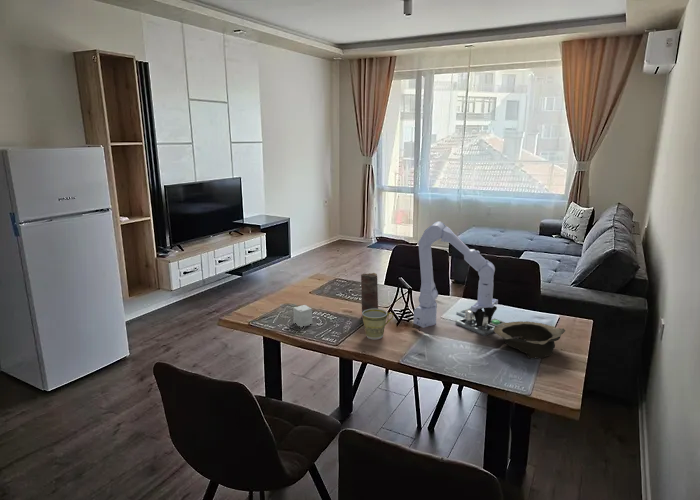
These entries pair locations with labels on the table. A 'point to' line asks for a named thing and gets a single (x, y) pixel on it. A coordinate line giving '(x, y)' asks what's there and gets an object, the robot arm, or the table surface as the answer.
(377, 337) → the ceramic cup
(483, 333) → the pallet
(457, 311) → the grey square frame
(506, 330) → the stone bowl
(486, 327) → the billet
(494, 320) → the button
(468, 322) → the billet
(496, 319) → the button housing
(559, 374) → the table surface
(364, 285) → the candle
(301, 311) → the skincare box
